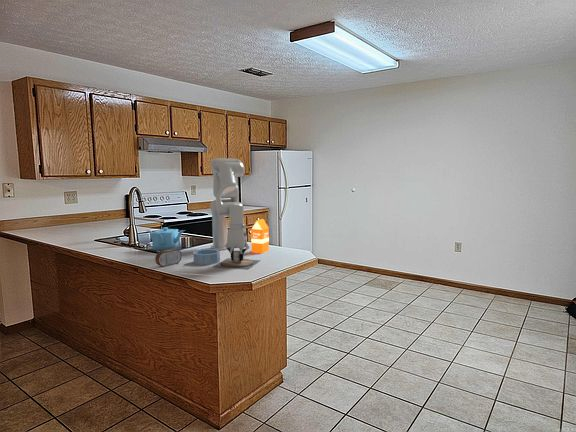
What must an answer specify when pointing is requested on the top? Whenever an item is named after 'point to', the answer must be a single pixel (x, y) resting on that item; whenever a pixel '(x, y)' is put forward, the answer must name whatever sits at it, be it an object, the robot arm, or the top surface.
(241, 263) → the lid
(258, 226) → the orange juice
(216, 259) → the bowl
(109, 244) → the top surface
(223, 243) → the robot arm
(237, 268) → the mat
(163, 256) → the tin
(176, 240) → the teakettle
